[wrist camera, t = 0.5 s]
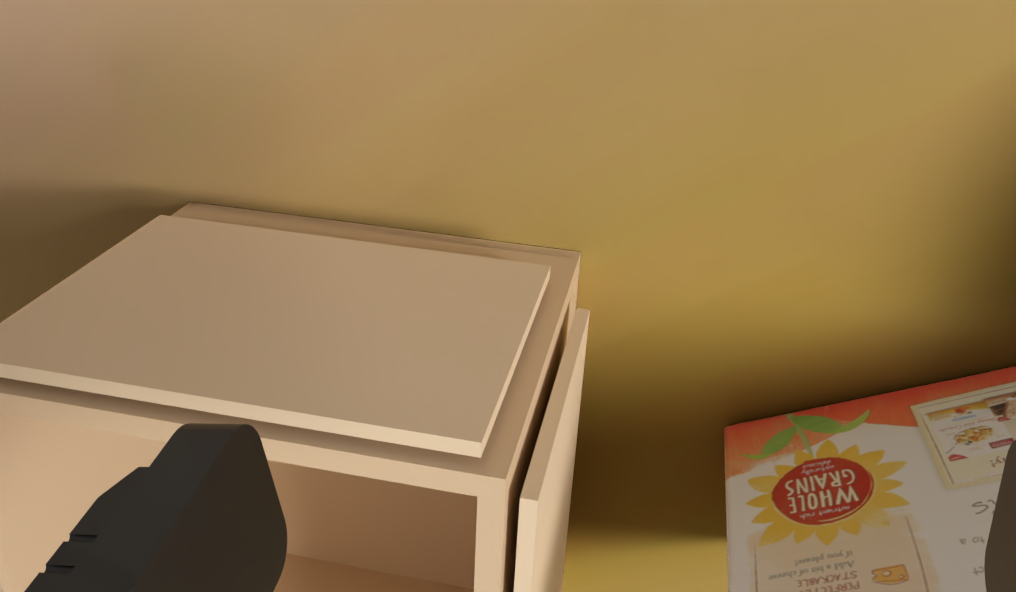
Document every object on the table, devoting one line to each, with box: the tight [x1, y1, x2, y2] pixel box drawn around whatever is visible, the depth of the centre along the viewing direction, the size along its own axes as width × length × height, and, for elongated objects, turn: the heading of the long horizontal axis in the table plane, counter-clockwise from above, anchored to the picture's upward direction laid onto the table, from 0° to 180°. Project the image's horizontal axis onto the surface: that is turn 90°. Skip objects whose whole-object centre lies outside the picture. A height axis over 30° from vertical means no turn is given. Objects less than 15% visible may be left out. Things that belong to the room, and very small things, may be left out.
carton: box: [0, 202, 590, 592], centre depth 29 cm, size 17×15×12 cm
